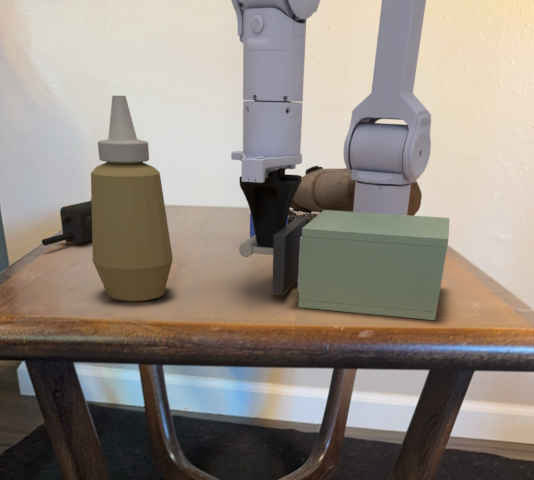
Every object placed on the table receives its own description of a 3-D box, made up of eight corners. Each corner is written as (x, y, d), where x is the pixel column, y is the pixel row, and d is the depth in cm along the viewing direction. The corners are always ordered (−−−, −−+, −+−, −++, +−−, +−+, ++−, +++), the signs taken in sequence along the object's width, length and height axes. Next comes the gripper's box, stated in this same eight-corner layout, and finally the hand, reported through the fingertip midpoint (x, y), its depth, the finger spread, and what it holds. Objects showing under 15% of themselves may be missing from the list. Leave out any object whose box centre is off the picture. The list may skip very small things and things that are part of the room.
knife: (323, 228, 98) (312, 225, 98) (322, 232, 99) (310, 230, 98) (294, 210, 110) (283, 208, 109) (293, 215, 110) (282, 212, 110)
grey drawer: (232, 290, 65) (232, 231, 62) (258, 267, 74) (259, 215, 70) (394, 305, 62) (402, 244, 59) (402, 280, 70) (409, 225, 67)
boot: (426, 177, 109) (340, 184, 119) (363, 145, 91) (268, 156, 100) (420, 228, 111) (336, 230, 121) (358, 206, 93) (265, 211, 102)
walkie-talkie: (98, 197, 91) (29, 212, 79) (118, 200, 90) (51, 215, 78) (101, 232, 94) (35, 252, 82) (121, 235, 93) (56, 255, 81)
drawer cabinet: (298, 307, 63) (302, 228, 59) (318, 279, 73) (323, 209, 69) (435, 320, 61) (448, 238, 57) (437, 289, 70) (449, 217, 66)
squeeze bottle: (80, 298, 64) (52, 94, 55) (130, 281, 71) (112, 94, 61) (143, 311, 61) (126, 96, 52) (189, 291, 67) (181, 97, 58)
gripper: (252, 100, 67) (251, 234, 74) (208, 100, 55) (211, 260, 62) (317, 102, 65) (310, 239, 72) (287, 103, 53) (281, 266, 60)
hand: (269, 249), depth 67 cm, fingers closed, pressing on grey drawer
